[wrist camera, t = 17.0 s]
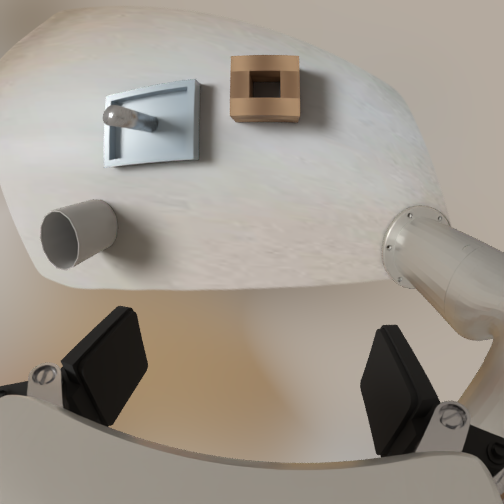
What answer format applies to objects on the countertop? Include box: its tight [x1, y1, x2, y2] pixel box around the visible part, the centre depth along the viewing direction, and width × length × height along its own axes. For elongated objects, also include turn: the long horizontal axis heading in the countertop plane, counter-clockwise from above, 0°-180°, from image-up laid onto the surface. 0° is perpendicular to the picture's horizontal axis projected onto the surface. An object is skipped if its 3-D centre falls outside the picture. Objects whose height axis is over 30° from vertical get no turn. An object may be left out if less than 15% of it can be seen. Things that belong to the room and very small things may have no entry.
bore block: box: [230, 55, 300, 123], centre depth 29 cm, size 8×8×5 cm
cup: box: [40, 199, 118, 271], centre depth 34 cm, size 8×8×10 cm
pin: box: [103, 105, 158, 132], centre depth 28 cm, size 2×2×10 cm
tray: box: [104, 79, 200, 168], centre depth 33 cm, size 14×11×2 cm
